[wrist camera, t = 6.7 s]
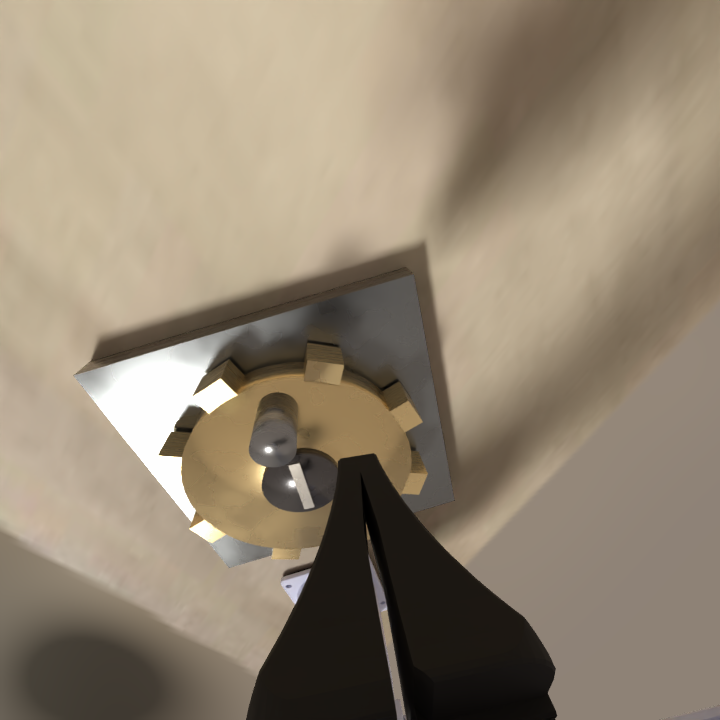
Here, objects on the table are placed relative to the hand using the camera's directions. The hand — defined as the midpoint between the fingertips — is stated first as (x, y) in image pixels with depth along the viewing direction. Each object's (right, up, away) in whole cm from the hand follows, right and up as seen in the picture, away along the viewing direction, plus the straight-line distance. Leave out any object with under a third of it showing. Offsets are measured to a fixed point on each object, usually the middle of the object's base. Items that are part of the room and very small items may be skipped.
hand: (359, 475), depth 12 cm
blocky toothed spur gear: (-4, -2, +9) cm, 10 cm away
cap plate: (-4, -1, +10) cm, 11 cm away
